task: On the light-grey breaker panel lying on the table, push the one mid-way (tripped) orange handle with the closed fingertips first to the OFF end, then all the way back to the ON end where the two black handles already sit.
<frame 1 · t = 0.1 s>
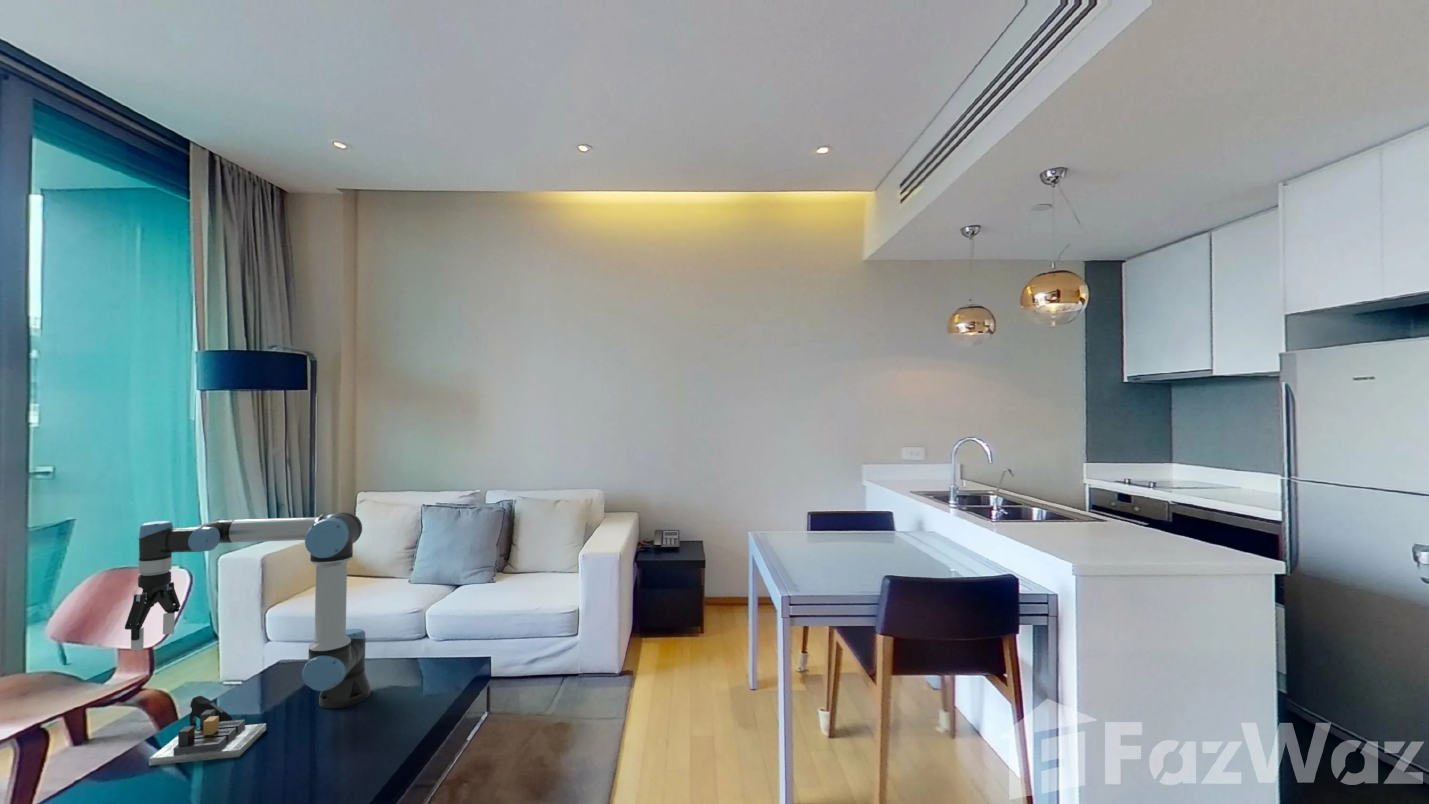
hand: (153, 641, 187), 28 cm above the table, fingers open, 13 cm apart
tripped handle: (211, 725, 179), point 6 cm above the table, slide at 0.0 cm
panel: (210, 746, 179), on the table
gun: (211, 729, 189), on the table
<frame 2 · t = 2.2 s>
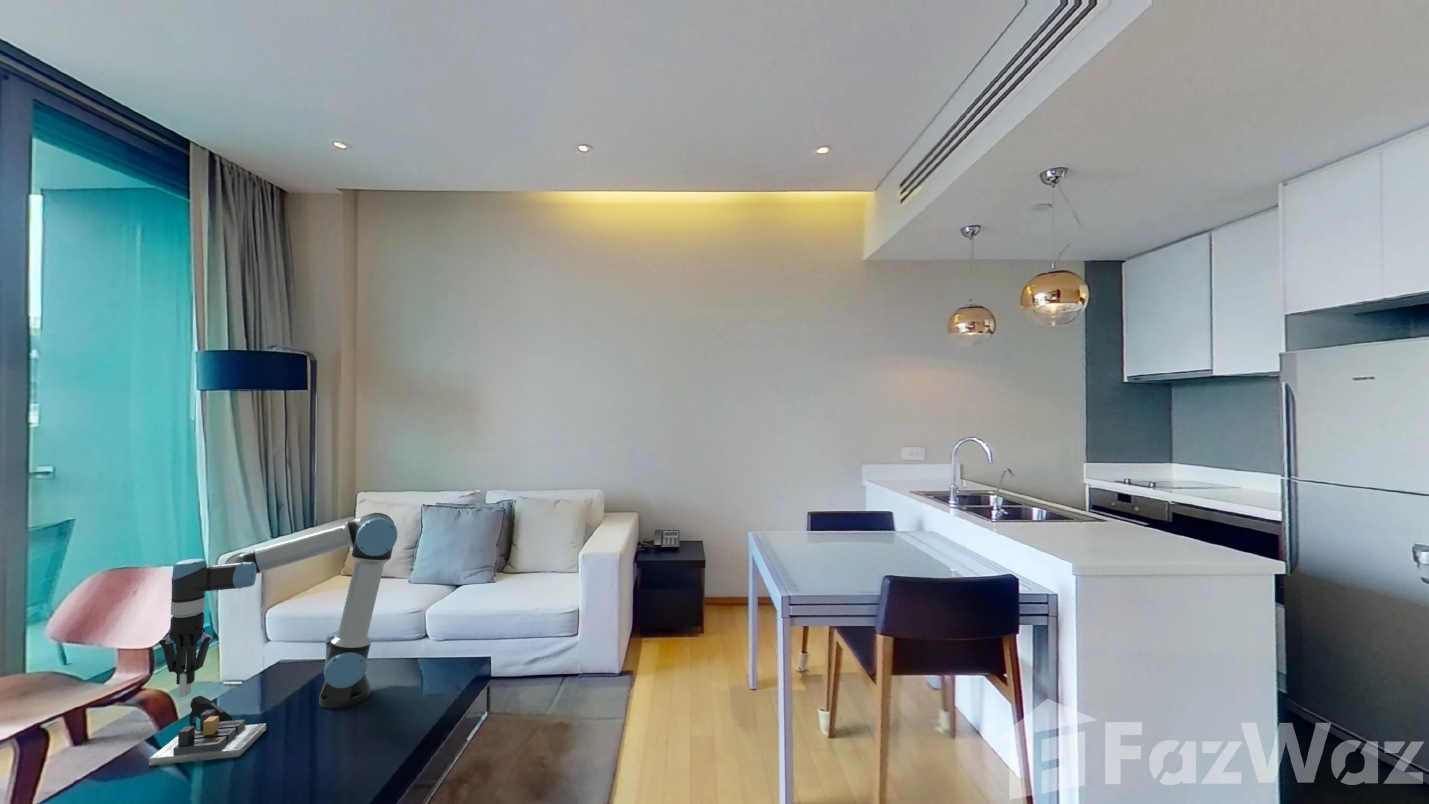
hand: (185, 694, 178), 16 cm above the table, fingers closed
nothing on the table moved.
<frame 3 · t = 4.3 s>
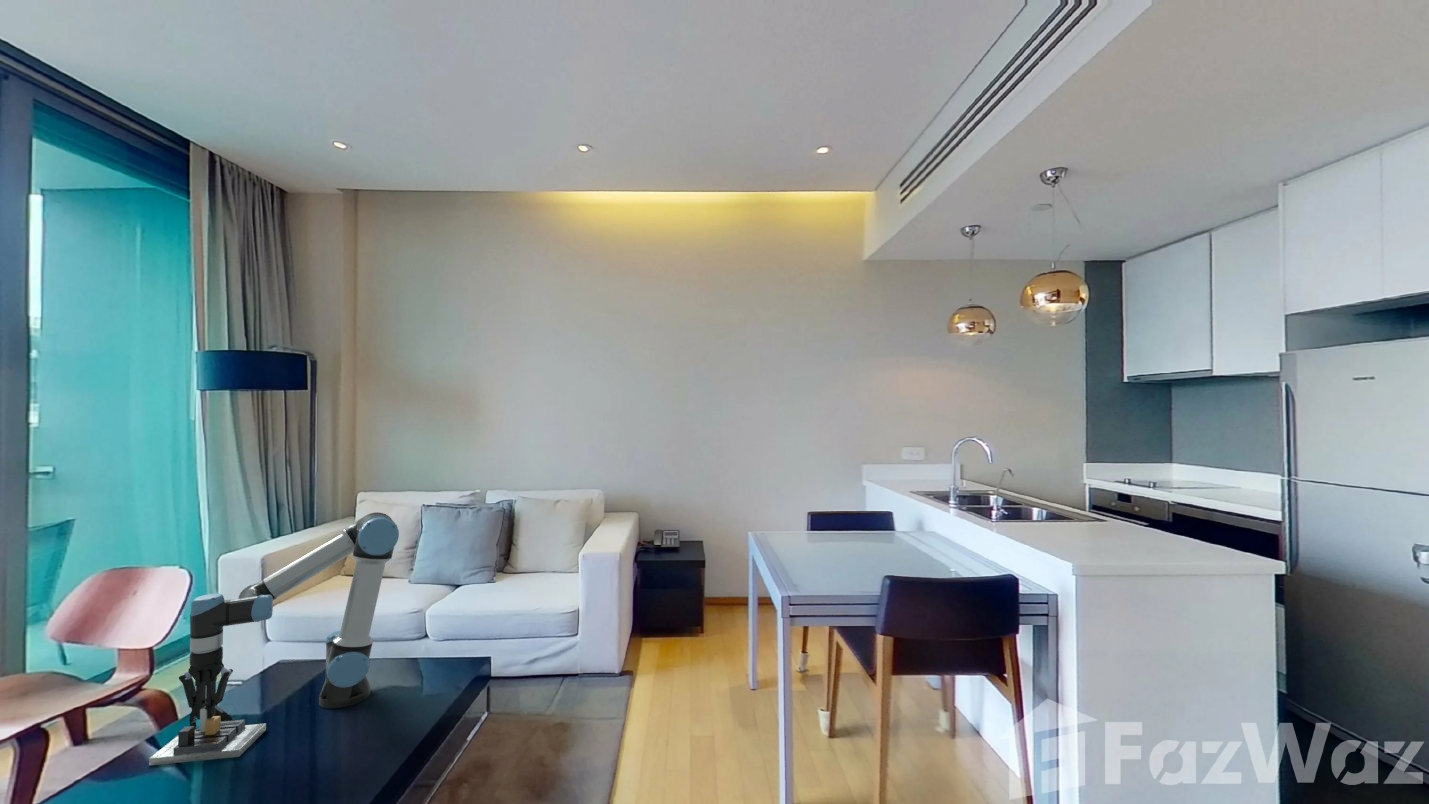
hand: (205, 729, 179), 5 cm above the table, fingers closed
tripped handle: (212, 725, 179), point 6 cm above the table, slide at -0.5 cm, touching gripper
everything else where it was.
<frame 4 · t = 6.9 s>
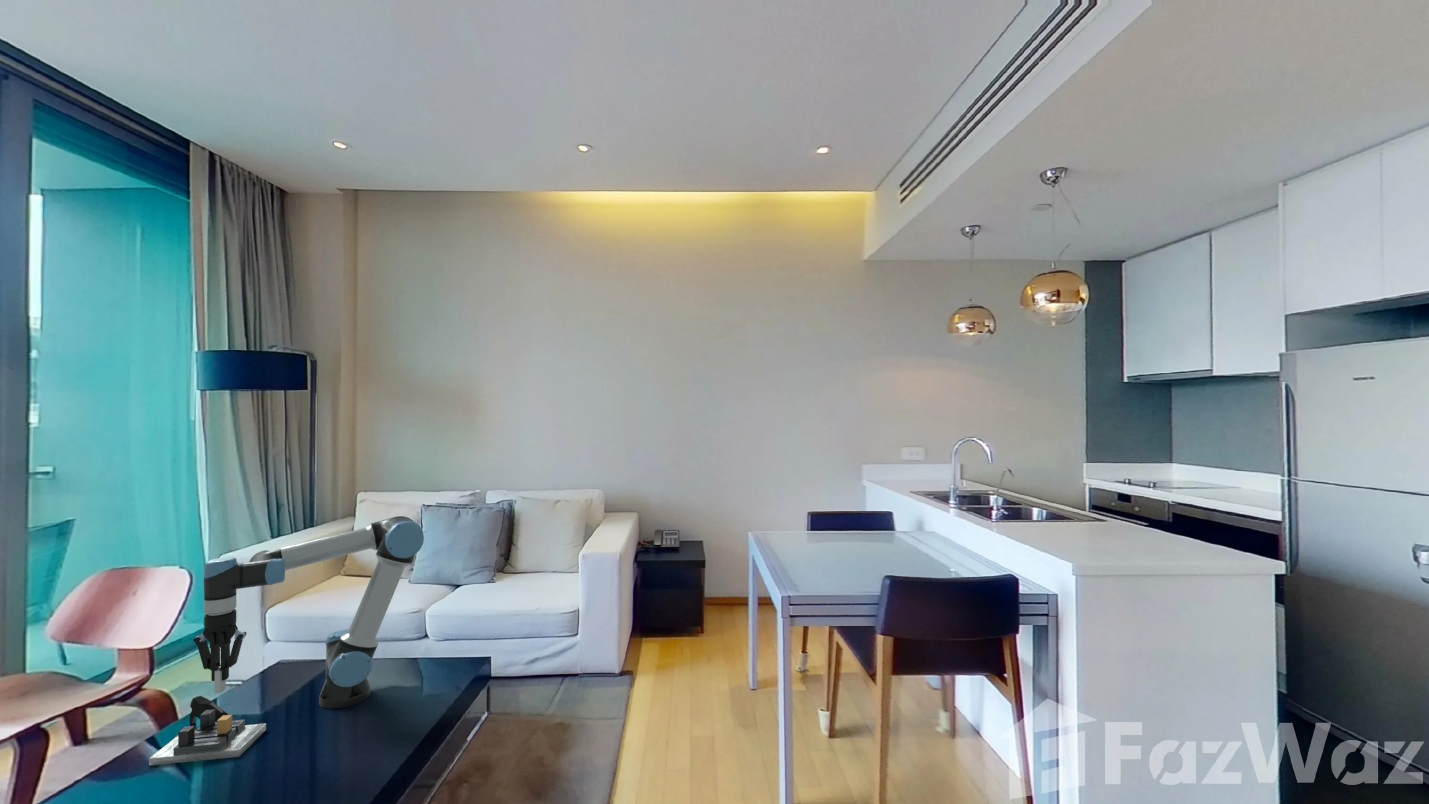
hand: (220, 690, 180), 16 cm above the table, fingers closed
tripped handle: (224, 724, 180), point 6 cm above the table, slide at -3.5 cm
everything else where it was.
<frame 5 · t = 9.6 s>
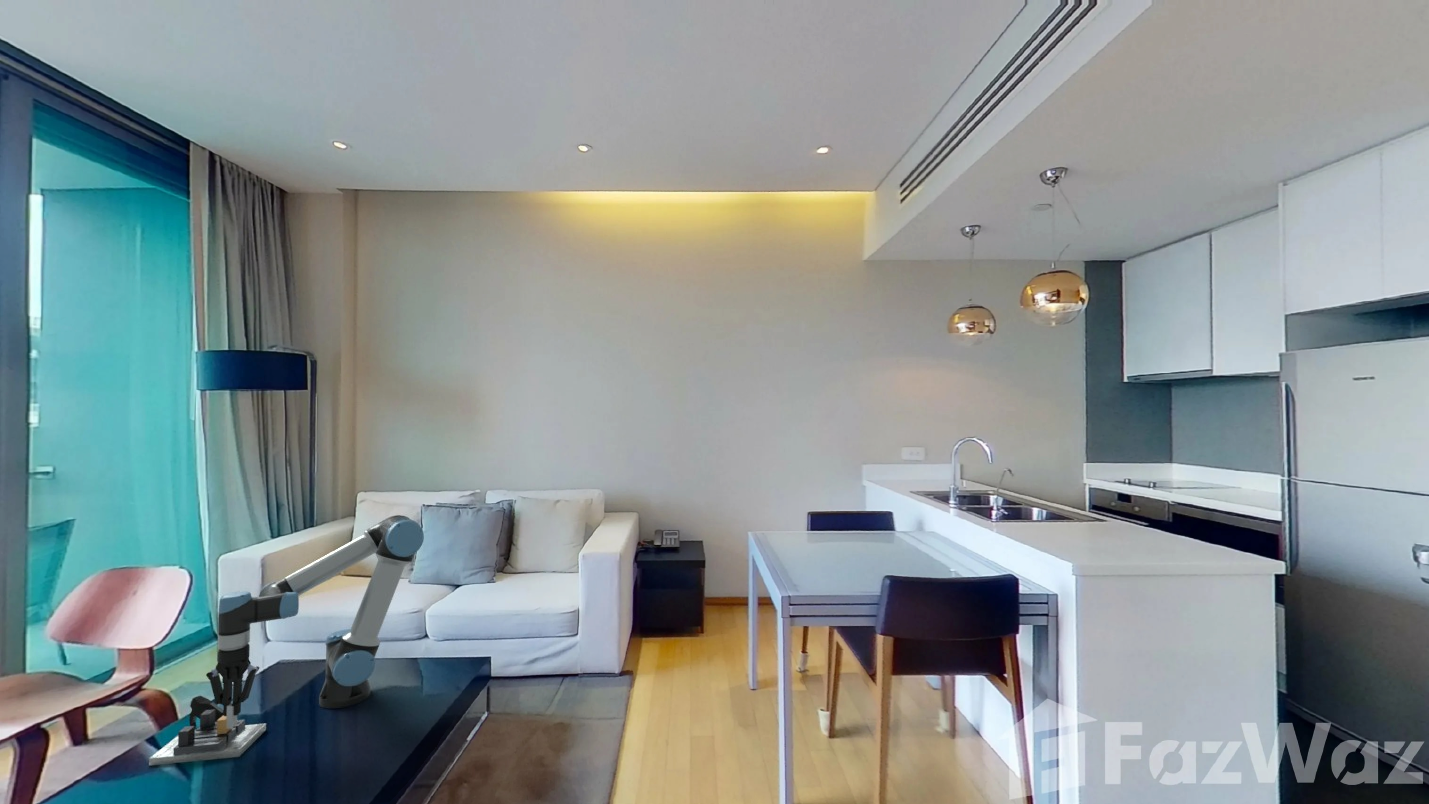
hand: (231, 725, 180), 6 cm above the table, fingers closed
tripped handle: (224, 724, 180), point 6 cm above the table, slide at -3.4 cm, touching gripper
everything else where it was.
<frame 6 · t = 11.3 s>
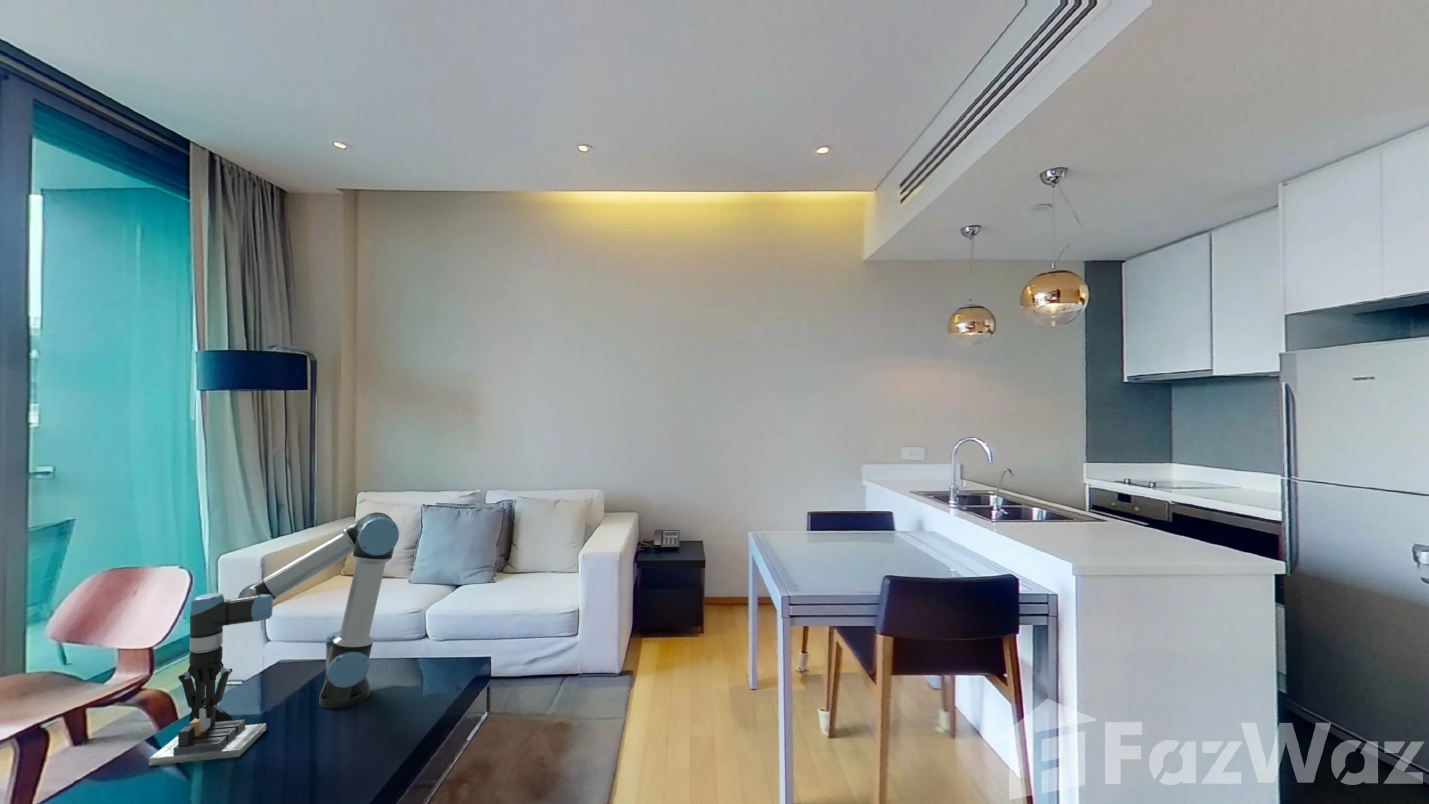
hand: (204, 728, 179), 5 cm above the table, fingers closed
tripped handle: (197, 726, 178), point 6 cm above the table, slide at 3.5 cm, touching gripper
everything else where it was.
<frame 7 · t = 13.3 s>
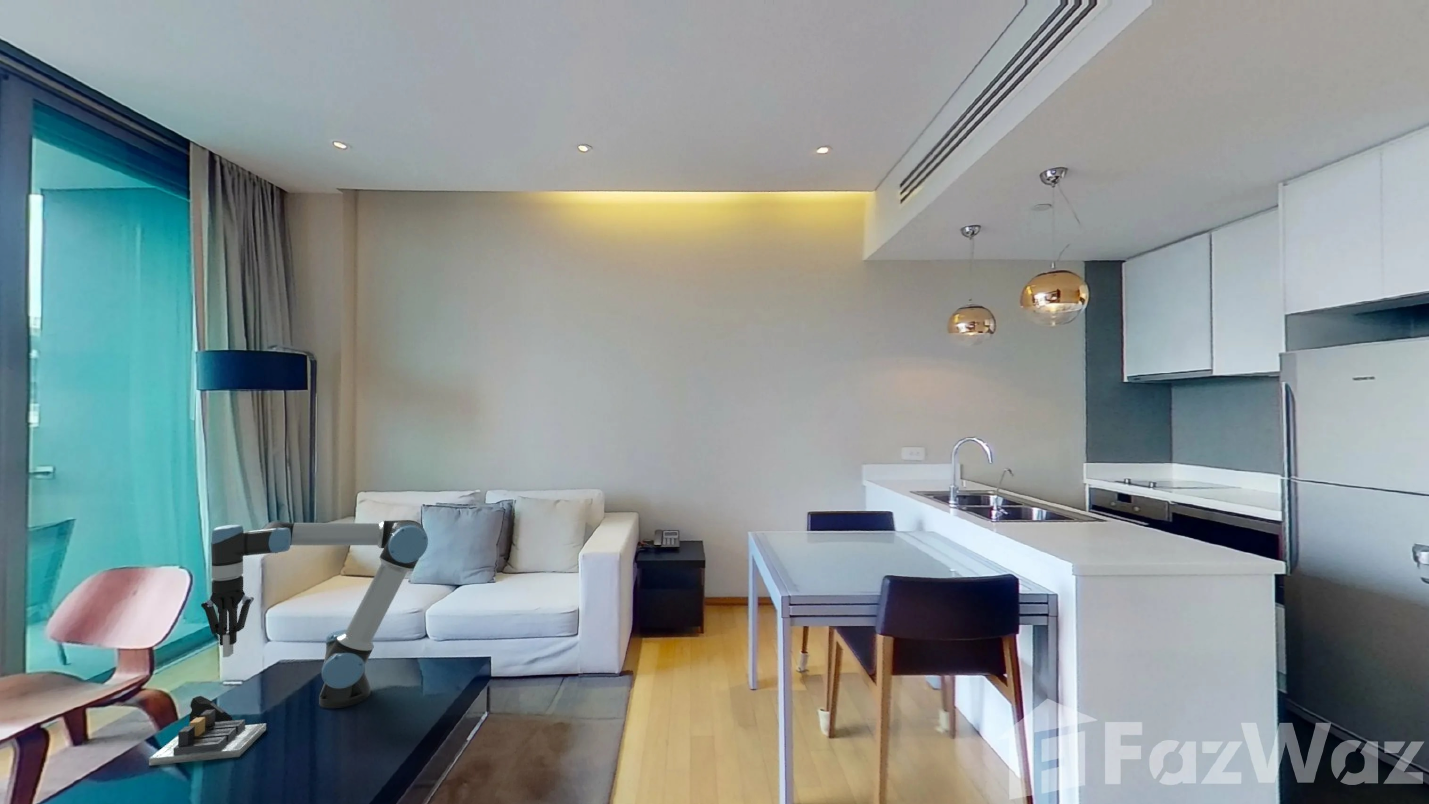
hand: (228, 655, 184), 25 cm above the table, fingers closed
tripped handle: (197, 726, 178), point 6 cm above the table, slide at 3.5 cm
everything else where it was.
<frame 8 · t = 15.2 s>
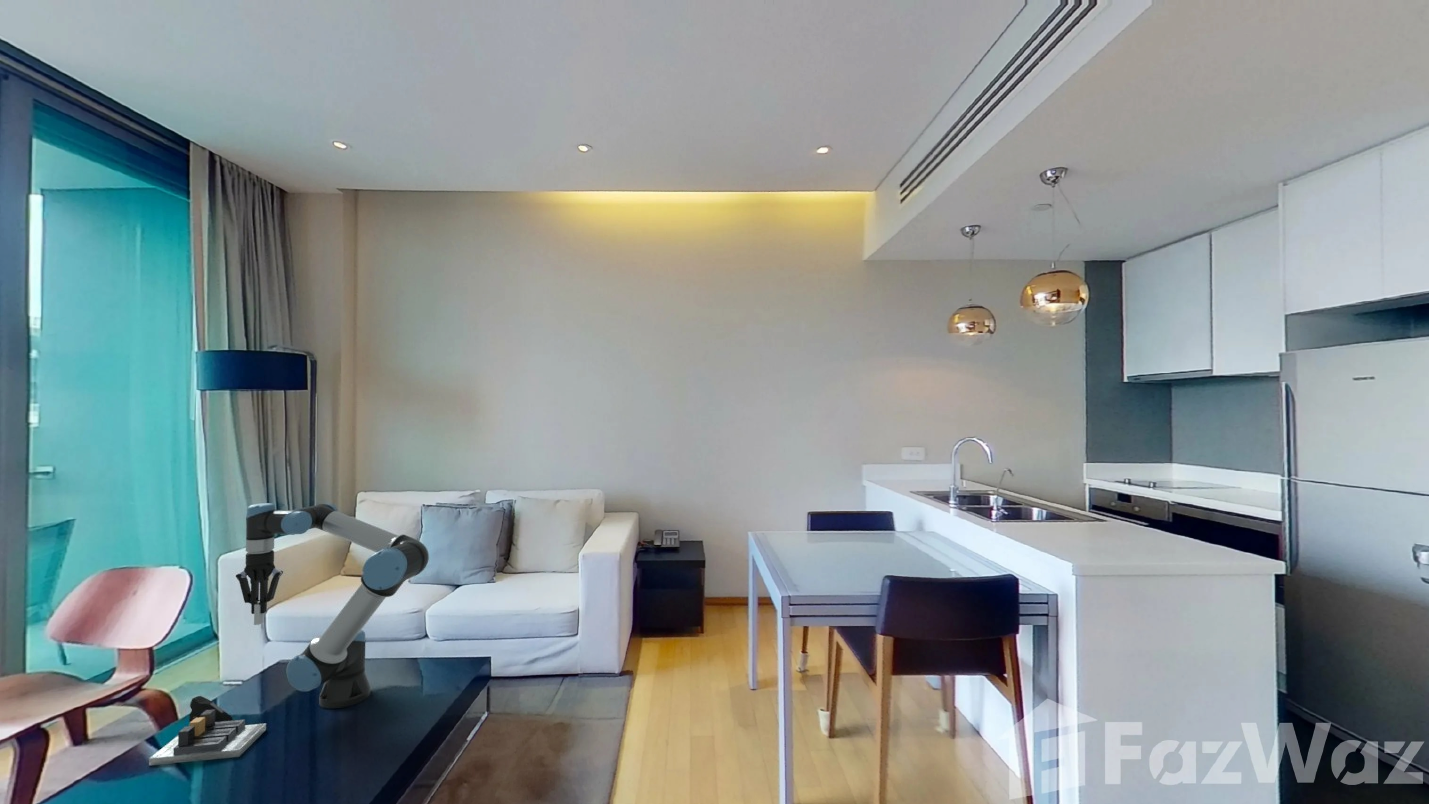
hand: (258, 623, 199), 29 cm above the table, fingers closed
nothing on the table moved.
at the end: tripped handle slide at 3.5 cm; tripped handle touching nothing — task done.
